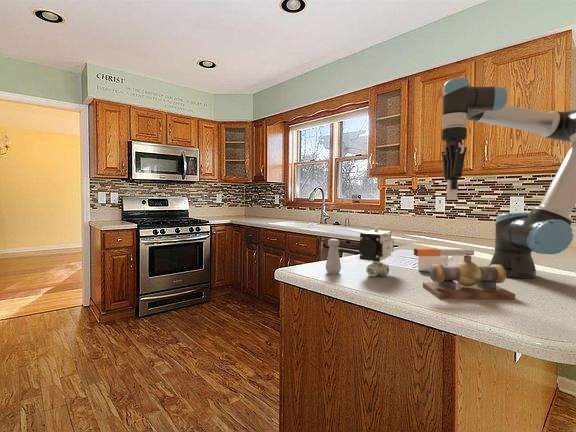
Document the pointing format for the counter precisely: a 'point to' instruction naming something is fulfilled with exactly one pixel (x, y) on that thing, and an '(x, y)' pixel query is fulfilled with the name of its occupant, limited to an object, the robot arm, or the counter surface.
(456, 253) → the lever
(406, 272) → the counter surface
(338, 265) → the salt shaker
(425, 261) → the white rectangular block
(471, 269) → the valve mount
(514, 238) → the robot arm
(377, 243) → the ball valve
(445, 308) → the counter surface
